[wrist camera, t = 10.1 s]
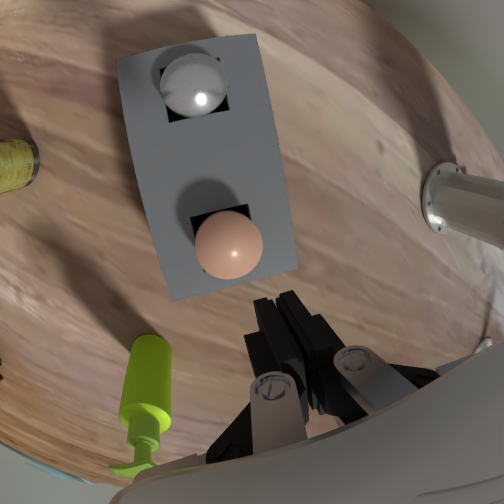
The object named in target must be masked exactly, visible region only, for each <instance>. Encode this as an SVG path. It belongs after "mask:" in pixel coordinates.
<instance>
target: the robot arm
mask: <svg viewBox="0 0 504 504" xmlns="http://www.w3.org/2000/svg"><path fill="white" fill-rule="evenodd" d="M422 206H423V214H424V217H425V220H426V223H427V225H428V226H429V227H430V229H431V230H433V231H434V232H436V233H438V234H442V235H446V234H449V233H451V232H452V231H454V230H456V231H458V232H461V233H464V234H466V235H469V236H471V237H474V238H476V239H479V240H481V241H484V242H486V243H488V244H491V245H493V246H496V247H498V248H500V249H502V250H504V182H503V181H498V180H494V179H489V178H484V177H479V176H474V175H468V174H463V172H462V171H461V169H460V168H459V167H458V166H457V165H456V164H454V163H451V162H441V163H439V164H437V165H436V166H435V167H434V168H433V169H432V170H431V171H430V173H429V175H428V177H427V179H426V182H425V185H424V189H423V197H422ZM253 303H254V308H255V313H256V317H257V322H258V326H259V331H258V332H254V333H251V334H247V335H244V339H245V343H246V346H247V350H248V354H249V358H250V361H251V365H252V368H253V371H254V375H255V378H256V379H255V380H254V381H253V383H252V384H251V386H250V402H249V404H248V405H247V406H246V407H245V408H244V410H243V411H242V412H241V413H240V414H239V415H238V416H237V418H236V419H235V420H234V421H233V422H232V423H231V424H230V426H229V427H228V428H227V429H226V430H225V431H224V432H223V433H222V434H221V436H220V437H219V438H218V439H217V440H216V441H215V442H214V443H213V444H212V445H211V446H210V448H209V449H208V451H207V453H204V454H201V455H199V456H198V455H197V454H193V455H190V456H187V457H184V458H181V459H178V460H175V461H171V462H168V463H165V464H161V465H158V466H154V467H150V468H147V469H144V470H142V471H140V472H139V473H138V474H137V475H136V476H135V478H134V480H133V484H131V485H129V486H127V487H125V488H124V489H122V490H120V491H119V492H118V493H117V494H116V495H115V496H114V497H113V498H112V500H111V501H110V503H109V504H504V340H502V341H499V342H497V343H495V344H492V345H490V346H488V347H487V348H485V349H483V350H481V351H479V352H478V353H475V354H471V355H468V356H466V357H463V358H461V359H458V360H456V361H453V362H450V363H447V364H445V365H442V366H439V367H436V370H435V371H433V370H431V369H426V368H418V367H410V366H402V365H395V364H388V363H386V362H385V361H384V360H383V359H382V358H380V357H379V356H378V355H377V354H375V353H374V352H373V351H372V350H370V349H369V348H367V347H364V346H358V345H353V346H348V347H346V346H345V345H344V344H343V342H342V341H341V340H340V338H339V337H338V336H337V335H336V333H335V332H334V331H333V330H332V328H331V327H330V326H329V324H328V323H327V322H326V321H325V319H324V318H323V317H322V316H321V315H320V314H317V315H313V316H311V314H310V313H309V312H308V310H307V309H306V308H305V306H304V305H303V303H302V302H301V301H300V299H299V298H298V297H297V295H296V294H295V292H294V291H293V290H291V291H287V292H284V293H280V294H279V298H276V305H275V303H274V302H273V300H272V299H271V300H267V298H266V297H265V298H262V299H258V300H254V301H253ZM276 306H277V307H276ZM308 402H309V404H310V406H311V408H312V410H314V409H317V410H318V412H319V414H320V415H323V414H325V413H326V414H329V415H333V416H334V420H335V422H336V423H337V424H338V426H339V428H337V429H334V430H332V431H329V432H326V433H324V434H321V435H318V436H315V437H312V438H309V439H308V437H307V433H306V428H305V425H306V424H307V422H308V420H309V414H308V411H309V407H308Z"/></svg>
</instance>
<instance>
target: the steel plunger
mask: <svg viewBox="0 0 504 504" xmlns="http://www.w3.org/2000/svg"><path fill="white" fill-rule="evenodd" d="M228 86H229V78H228V74H227V71H226V69H225V68H224V66H223V65H222V64H221V63H220V62H219V61H218V60H217V59H215V58H213V57H211V56H209V55H206V54H199V53H193V54H187V55H184V56H181V57H179V58H177V59H175V60H174V61H173V62H171V63H170V64H169V65H168V66H167V68H166V69H165V70H164V72H163V74H162V77H161V81H160V91H161V95H162V97H163V99H164V102H165V103H166V105H167V106H168V108H169V109H170V110H172V111H173V112H174V113H176V114H178V115H180V116H184V117H190V118H194V117H201V116H204V115H207V114H209V113H211V112H212V111H214V110H215V109H216V108H217V107H218V106H219V105H220V104H221V102H222V101H223V99H224V97H225V96H226V93H227V91H228Z"/></svg>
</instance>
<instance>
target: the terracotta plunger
mask: <svg viewBox="0 0 504 504" xmlns="http://www.w3.org/2000/svg"><path fill="white" fill-rule="evenodd" d="M195 250H196V256H197V259H198V261H199V263H200V265H201V266H202V268H203V269H204V270H205V271H206V272H207V273H209V274H210V275H212V276H214V277H217V278H220V279H235V278H239V277H242V276H244V275H246V274H247V273H249V272H250V271H251V270H252V269H253V268H254V267H255V266H256V265H257V263H258V262H259V260H260V258H261V255H262V250H263V240H262V236H261V233H260V231H259V229H258V228H257V227H256V225H255V224H254V223H253V222H252V221H251V220H250V219H249V218H248V217H246V216H245V215H243V214H241V213H239V212H235V211H223V210H217V211H214V212H212V213H210V214H209V215H208V216H207V217H206V219H205V220H204V221H203V222H202V224H201V225H200V227H199V229H198V231H197V233H196V237H195Z"/></svg>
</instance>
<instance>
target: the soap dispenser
mask: <svg viewBox="0 0 504 504" xmlns="http://www.w3.org/2000/svg"><path fill="white" fill-rule="evenodd" d="M171 361H172V350H171V347H170V345H169V344H168V342H167V341H166V340H164V339H163V338H161V337H159V336H156V335H150V334H148V335H142V336H140V337H138V338H137V339H136V340H135V341H134V342H133V344H132V349H131V353H130V358H129V362H128V367H127V372H126V377H125V382H124V387H123V392H122V398H121V403H120V409H119V418H120V420H121V422H122V423H123V424H124V425H125V426H126V427H128V437H127V442H128V444H129V446H130V447H131V448H133V449H135V453H134V462H132V463H128V464H123V465H110V466H109V467H108V469H110V470H111V471H113V472H114V473H116V474H117V475H119V476H123V477H135V476H136V475H137V474H138V473H139V472H140V471H142V470H144V469H147V468H150V467H154V466H158V465H156V464H155V463H153V462H152V461H151V452H154V451H156V450H158V449H159V446H160V433H162V432H164V431H166V430H167V429H168V428H169V427H170V425H171Z"/></svg>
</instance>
